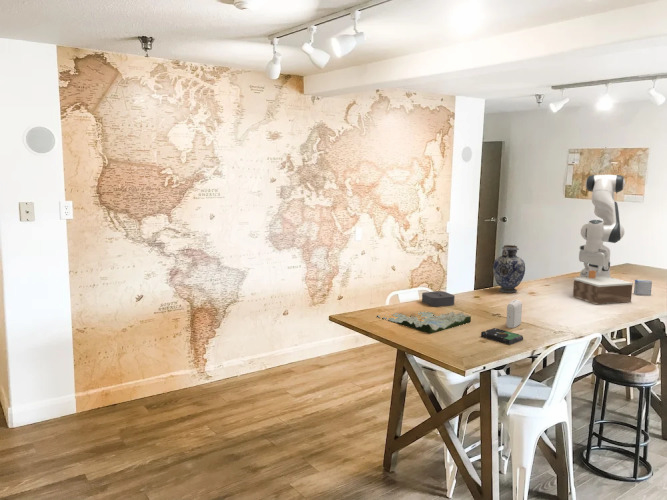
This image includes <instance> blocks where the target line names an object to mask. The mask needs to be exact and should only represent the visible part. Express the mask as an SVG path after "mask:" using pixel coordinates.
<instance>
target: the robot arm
mask: <svg viewBox="0 0 667 500" xmlns="http://www.w3.org/2000/svg"><path fill="white" fill-rule="evenodd" d="M584 185H585V188H586V190H587V191H588V192H591V203H592V204H593V206H594V214H595V216H596V217H597V218H599V219H591V220H589V221H588V222H587V223H585V224H583V225H582V226H581V228H580V235H581V237H582V239H584V240H585V244H584V245H580V246H579V253H578V260H579V262H581V263H583V267H584V268H583V269H581V271H580V272H579V273H580V274H579V276H576V277H575V278H582V277H589V271H592V270H594V271H596V277H599V276H608V277H611V269H610V268H611V249H610V248H609V247H607V245H604V242H606V243H612V244H616V243H618V242H619V241H621V239H622V238H623V237H624V236H625V228H624V227H623V226H622V225H621V223H620V211H619V205H618V202H617V201H615V194H618V193H619V192H621V191H624V188H625V186H626V181H625V176H623V175H621V174H596V175H595V174H592V175H589V176H587V178H586V180H585V184H584ZM600 219H601V220H600Z"/></svg>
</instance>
